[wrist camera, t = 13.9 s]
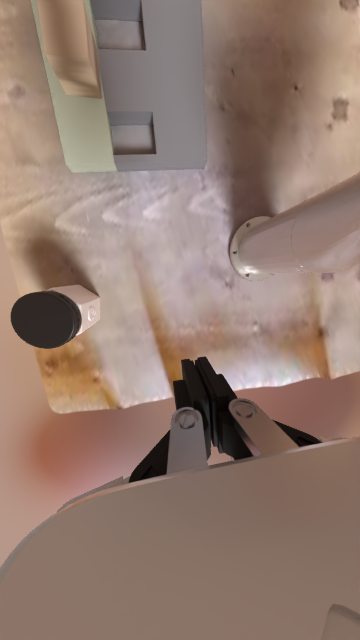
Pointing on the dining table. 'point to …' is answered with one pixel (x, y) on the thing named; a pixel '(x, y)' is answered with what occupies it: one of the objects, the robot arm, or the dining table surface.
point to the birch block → (70, 46)
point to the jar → (54, 315)
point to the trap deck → (138, 90)
